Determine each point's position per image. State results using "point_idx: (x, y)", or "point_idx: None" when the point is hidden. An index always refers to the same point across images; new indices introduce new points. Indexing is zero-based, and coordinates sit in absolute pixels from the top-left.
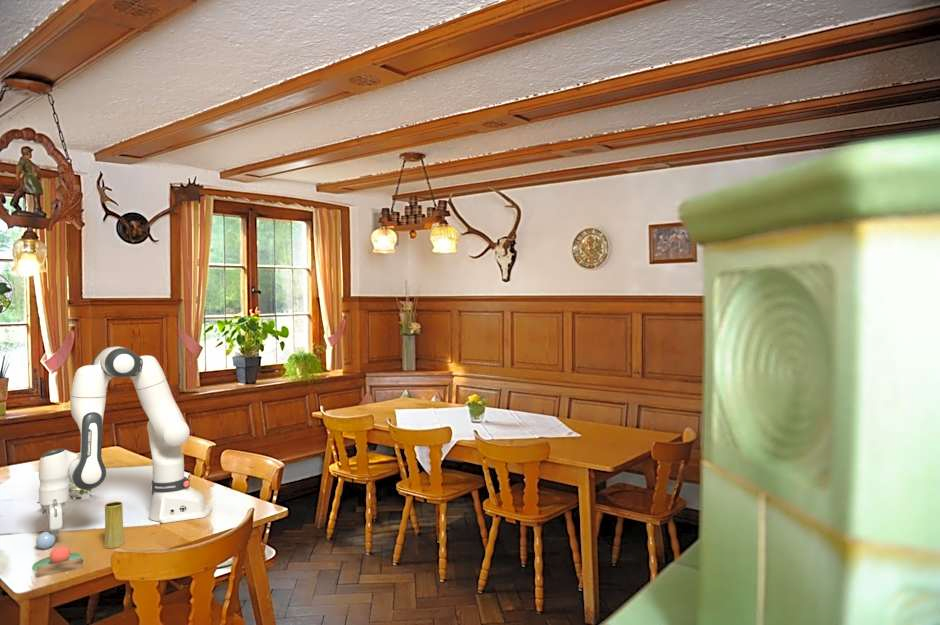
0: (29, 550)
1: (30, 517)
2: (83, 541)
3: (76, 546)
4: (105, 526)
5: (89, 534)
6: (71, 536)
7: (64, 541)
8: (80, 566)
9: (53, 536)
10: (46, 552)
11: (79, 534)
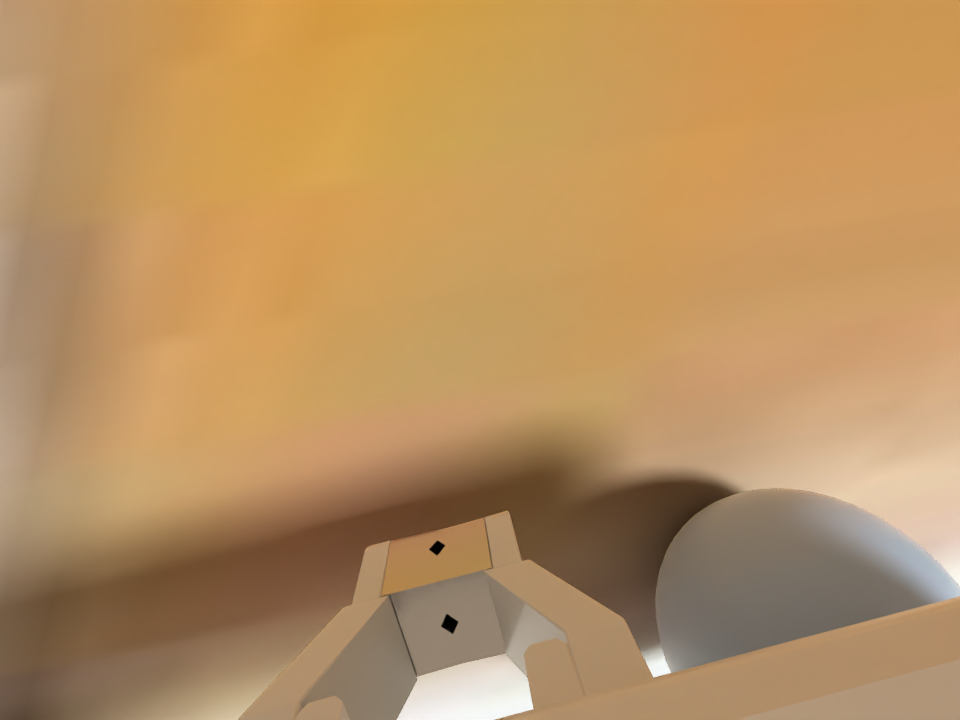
0: None
1: None
2: (690, 82)
3: (869, 163)
4: None
5: (342, 19)
6: (348, 322)
7: (551, 378)
8: None
9: (919, 566)
10: (874, 501)
11: (283, 208)
